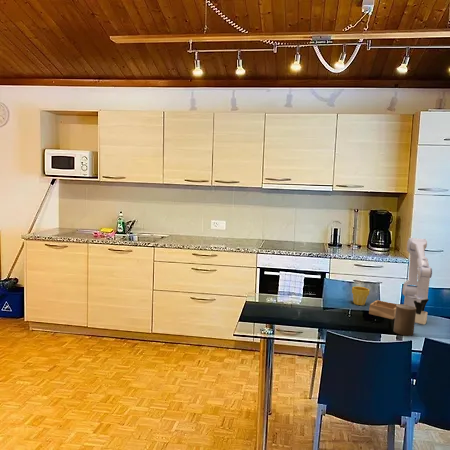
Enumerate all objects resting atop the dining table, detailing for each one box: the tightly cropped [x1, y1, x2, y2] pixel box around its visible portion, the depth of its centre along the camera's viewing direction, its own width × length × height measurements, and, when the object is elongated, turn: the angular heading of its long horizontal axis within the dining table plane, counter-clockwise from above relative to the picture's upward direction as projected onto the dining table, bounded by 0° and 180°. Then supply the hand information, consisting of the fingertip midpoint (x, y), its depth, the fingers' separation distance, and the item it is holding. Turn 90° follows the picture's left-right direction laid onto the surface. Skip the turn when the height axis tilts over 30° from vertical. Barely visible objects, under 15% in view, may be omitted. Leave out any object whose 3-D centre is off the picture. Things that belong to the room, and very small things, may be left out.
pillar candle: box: [393, 303, 416, 337], centre depth 238 cm, size 10×10×15 cm
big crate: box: [368, 299, 398, 320], centre depth 270 cm, size 14×14×6 cm
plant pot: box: [351, 285, 370, 306], centre depth 288 cm, size 10×10×10 cm
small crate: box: [415, 310, 428, 325], centre depth 259 cm, size 5×7×6 cm
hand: (419, 312), depth 259 cm, fingers open, 7 cm apart
